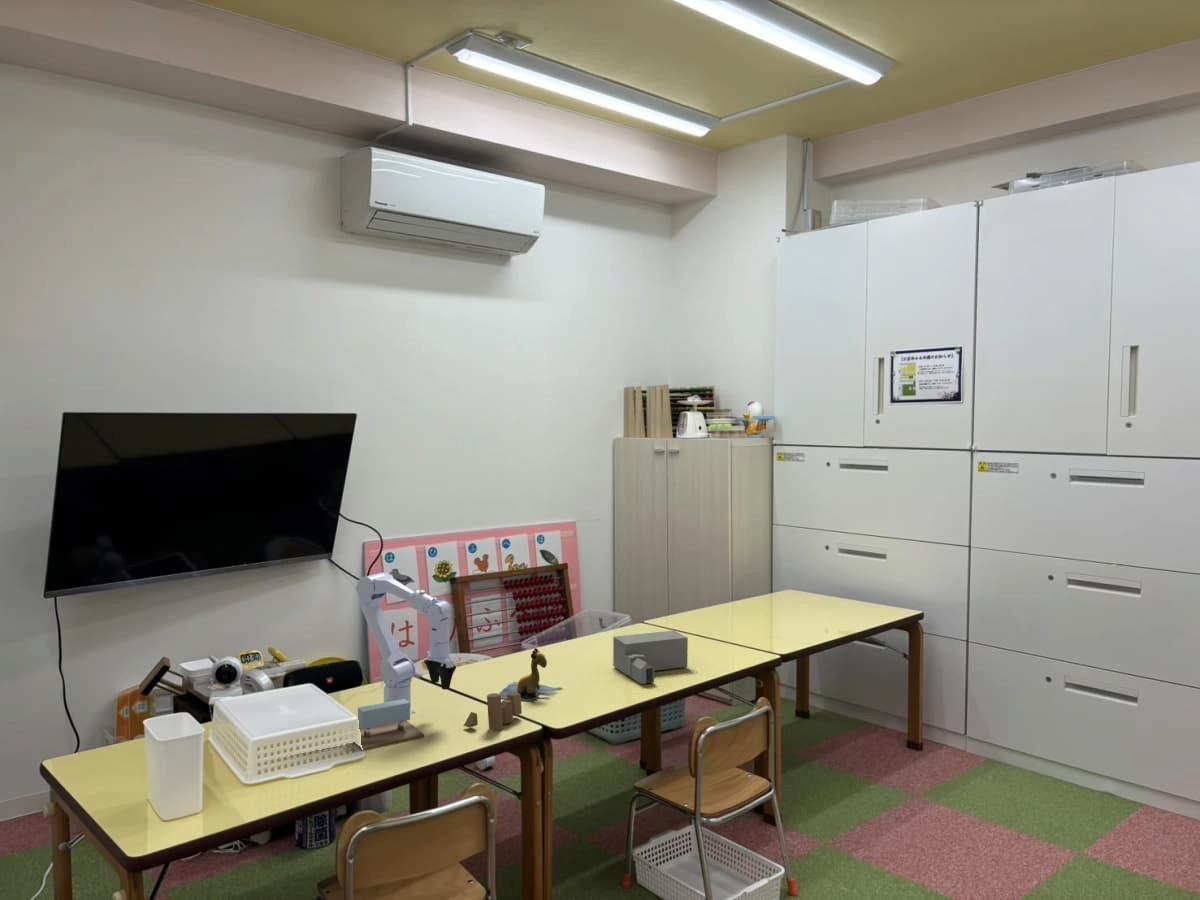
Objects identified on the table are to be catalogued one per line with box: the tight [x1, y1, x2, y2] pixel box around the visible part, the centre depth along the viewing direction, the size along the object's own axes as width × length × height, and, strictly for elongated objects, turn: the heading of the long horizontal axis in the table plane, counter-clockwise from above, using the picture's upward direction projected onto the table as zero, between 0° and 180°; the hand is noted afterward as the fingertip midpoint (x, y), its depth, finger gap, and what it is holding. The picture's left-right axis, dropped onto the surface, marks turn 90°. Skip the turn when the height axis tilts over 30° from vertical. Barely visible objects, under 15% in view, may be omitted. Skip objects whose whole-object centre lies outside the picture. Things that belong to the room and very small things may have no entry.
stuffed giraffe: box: [498, 647, 563, 704], centre depth 289 cm, size 16×18×16 cm
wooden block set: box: [463, 692, 523, 732], centre depth 259 cm, size 18×9×10 cm, turn 133°
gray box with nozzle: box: [612, 630, 689, 685], centre depth 316 cm, size 25×23×11 cm
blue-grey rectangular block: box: [357, 699, 411, 729], centre depth 251 cm, size 14×4×5 cm, turn 123°
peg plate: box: [359, 720, 425, 751], centre depth 251 cm, size 15×18×4 cm
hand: (440, 685), depth 265 cm, fingers open, 7 cm apart
